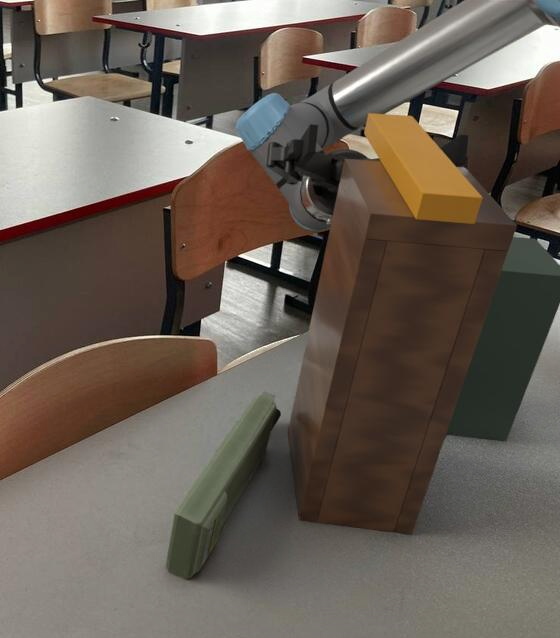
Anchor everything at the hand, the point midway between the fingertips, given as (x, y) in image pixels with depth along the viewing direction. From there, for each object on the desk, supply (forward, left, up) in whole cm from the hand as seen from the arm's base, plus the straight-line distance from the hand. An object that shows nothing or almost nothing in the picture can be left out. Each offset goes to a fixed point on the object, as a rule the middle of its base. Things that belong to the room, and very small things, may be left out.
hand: (386, 143), depth 71 cm
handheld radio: (+11, +17, -30) cm, 36 cm away
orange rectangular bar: (0, +9, 0) cm, 9 cm away
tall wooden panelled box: (0, +13, -30) cm, 32 cm away
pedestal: (-13, -1, -30) cm, 32 cm away
